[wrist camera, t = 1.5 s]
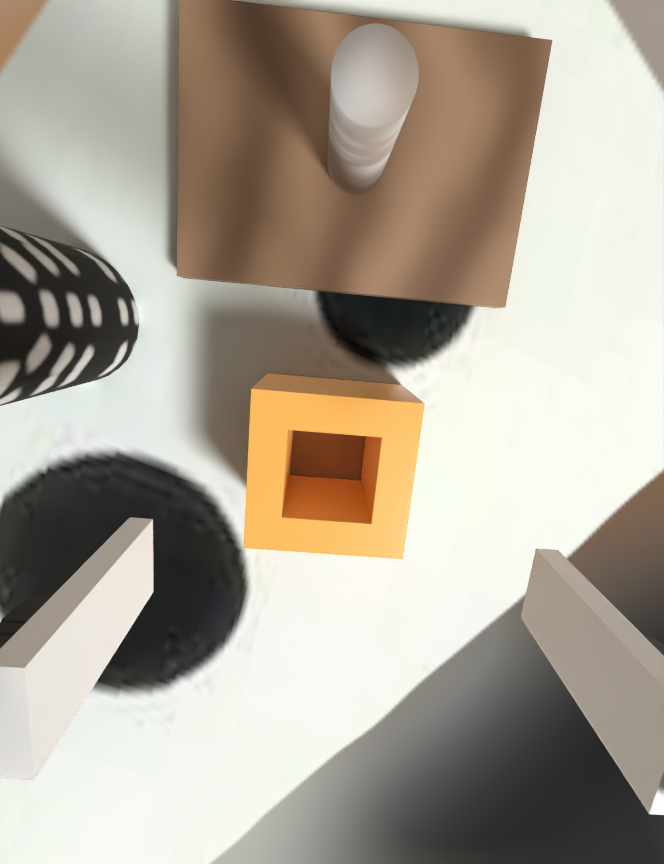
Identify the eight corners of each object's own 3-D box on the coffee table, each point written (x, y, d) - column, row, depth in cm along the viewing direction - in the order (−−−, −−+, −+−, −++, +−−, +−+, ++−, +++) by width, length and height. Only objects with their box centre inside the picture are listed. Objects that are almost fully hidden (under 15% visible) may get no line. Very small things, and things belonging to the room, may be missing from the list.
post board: (184, 278, 28) (101, 252, 18) (187, 12, 25) (86, -218, 14) (496, 307, 29) (597, 301, 18) (539, 56, 26) (692, -130, 15)
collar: (260, 499, 32) (243, 547, 25) (267, 373, 30) (251, 388, 23) (385, 508, 32) (402, 559, 26) (401, 384, 30) (424, 403, 23)
